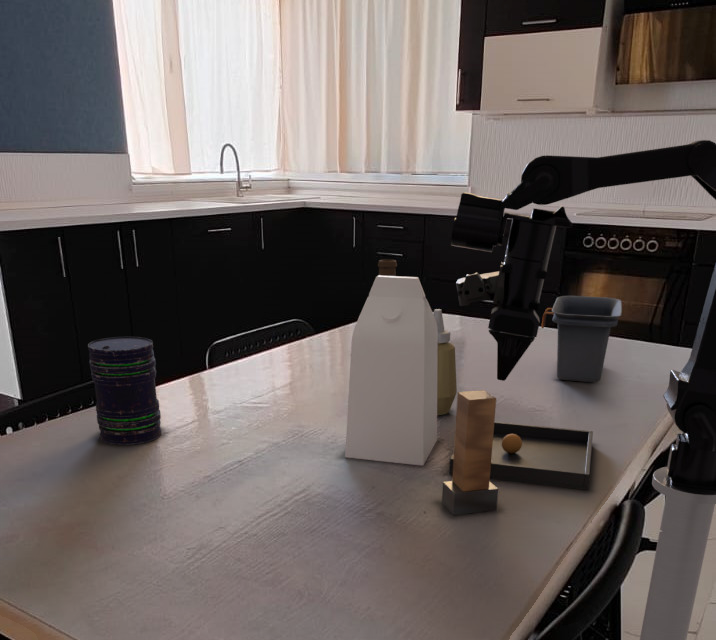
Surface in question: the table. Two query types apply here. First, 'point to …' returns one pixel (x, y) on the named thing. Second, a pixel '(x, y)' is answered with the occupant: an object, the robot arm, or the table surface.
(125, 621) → the table surface
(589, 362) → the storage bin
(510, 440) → the tan round ball
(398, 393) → the milk
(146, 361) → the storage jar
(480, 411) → the wooden block on stand
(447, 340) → the squeeze bottle
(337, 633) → the table surface
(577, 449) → the pan
